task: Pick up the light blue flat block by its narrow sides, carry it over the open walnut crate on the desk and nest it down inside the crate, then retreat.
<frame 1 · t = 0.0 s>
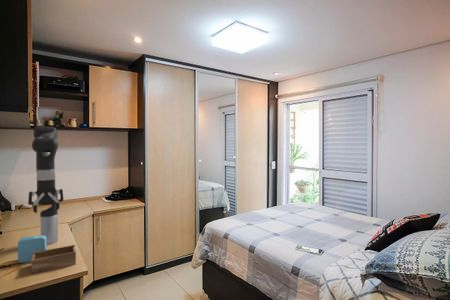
hand: (46, 211, 130), 29 cm above the table, fingers open, 8 cm apart
crate: (54, 264, 137), on the table
light blue flat block: (32, 260, 143), on the table
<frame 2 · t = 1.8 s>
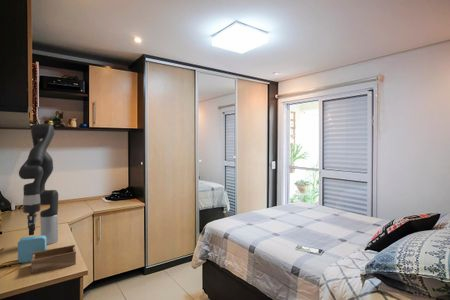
hand: (32, 232, 142), 15 cm above the table, fingers open, 8 cm apart
nothing on the table moved.
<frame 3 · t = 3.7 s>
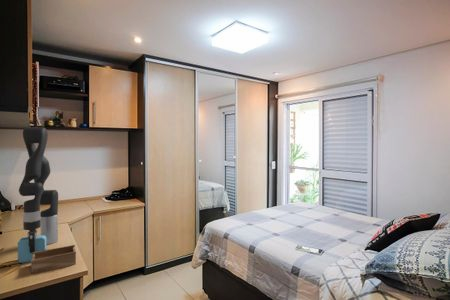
hand: (32, 250, 143), 5 cm above the table, fingers closed on light blue flat block, 5 cm apart
light blue flat block: (32, 260, 143), on the table, touching gripper
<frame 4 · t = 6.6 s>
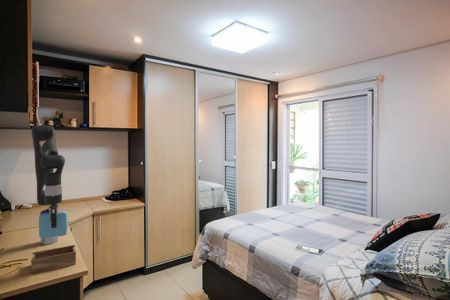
hand: (53, 226, 137), 20 cm above the table, fingers closed on light blue flat block, 5 cm apart
light blue flat block: (53, 236, 137), point 15 cm above the table, touching gripper
when the fingers open (7 cm above the table, at t = 9.7 s): light blue flat block drops 1 cm, resting on crate.
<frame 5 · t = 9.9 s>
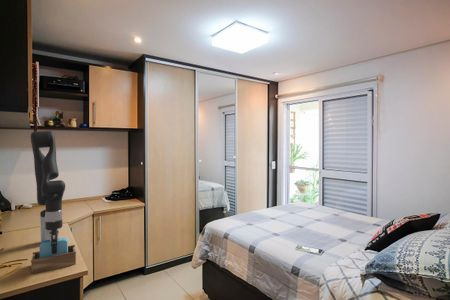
hand: (54, 251, 137), 7 cm above the table, fingers open, 6 cm apart
light blue flat block: (54, 263, 137), resting on crate
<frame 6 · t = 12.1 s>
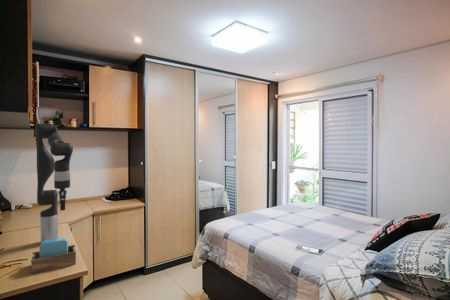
hand: (62, 208, 146), 27 cm above the table, fingers open, 8 cm apart
nothing on the table moved.
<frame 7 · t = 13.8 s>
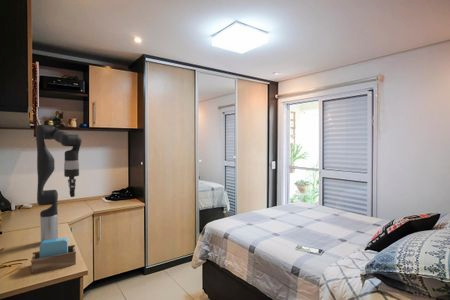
hand: (72, 195, 156), 32 cm above the table, fingers open, 8 cm apart
nothing on the table moved.
at the end: light blue flat block inside the target area on the crate (0.2 cm from its centre), point 0.4 cm above the crate's base; light blue flat block tilted 0°; the gripper is holding nothing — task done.
